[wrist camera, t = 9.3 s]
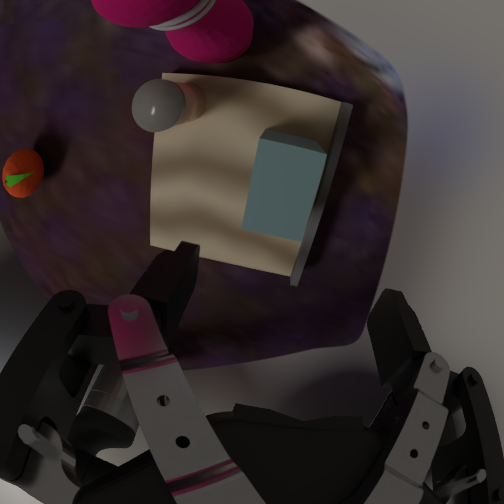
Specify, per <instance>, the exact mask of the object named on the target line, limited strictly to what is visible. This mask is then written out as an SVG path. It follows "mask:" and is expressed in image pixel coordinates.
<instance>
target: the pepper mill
mask: <svg viewBox="0 0 504 504" xmlns="http://www.w3.org/2000/svg"><path fill="white" fill-rule="evenodd" d="M91 1H92V5H93V6H94V8H95V9H96V11H97V12H98V13H99V14H100V15H101V16H102V17H104V18H105V19H107V20H108V21H110V22H112V23H115V24H117V25H120V26H125V27H139V28H143V27H151V28H153V29H156V30H164V31H165V32H166V36H167V38H168V40H169V42H170V44H171V45H172V47H173V48H174V49H175V50H176V51H177V52H178V53H180V54H181V55H183V56H184V57H186V58H188V59H191V60H193V61H197V62H212V63H224V62H229V61H231V60H234V59H236V58H238V57H240V56H241V55H242V54H243V53H245V51H246V50H247V49H248V48H249V46H250V44H251V41H252V38H253V27H254V21H253V15H252V13H251V10H250V9H249V8H248V6H247V5H246V4H245V2H244V1H243V0H91Z"/></svg>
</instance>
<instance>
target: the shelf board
mask: <svg viewBox="0 0 504 504" xmlns="http://www.w3.org/2000/svg"><path fill="white" fill-rule="evenodd" d="M162 79H165V80H170V81H173V82H180V83H188V84H193V85H196V86H198V87H199V88H200V89H201V90H202V91H203V92H204V94H205V97H206V106H205V109H204V111H203V113H202V115H201V116H200V117H199V118H197V119H196V120H194V121H191V122H187V123H184V124H180V125H176V126H173V127H171V128H169V129H167V130H164V131H160V132H155V136H154V147H153V161H152V178H151V208H150V244H151V245H152V246H156V247H160V248H165V249H169V250H173V251H175V250H176V248H177V247H178V245H179V244H180V242H181V241H186V242H190V243H194V244H199V245H200V254H199V257H204V258H208V259H213V260H217V261H222V262H226V263H231V264H235V265H240V266H244V267H249V268H253V269H258V270H263V271H267V272H272V273H277V274H281V275H286V276H290V285H294V286H297V285H298V282H299V279H300V277H301V274H302V271H303V268H304V265H305V263H306V260H307V257H308V254H309V251H310V248H311V245H312V242H313V240H314V237H315V234H316V231H317V228H318V225H319V221H320V218H321V215H322V212H323V209H324V206H325V203H326V200H327V196H328V193H329V190H330V187H331V183H332V180H333V177H334V173H335V170H336V167H337V163H338V160H339V156H340V153H341V149H342V145H343V142H344V138H345V135H346V131H347V127H348V123H349V119H350V115H351V112H352V108H353V105H352V104H349V103H346V102H339V101H336V100H332V99H329V98H326V97H322V96H319V95H315V94H311V93H307V92H303V91H299V90H295V89H291V88H286V87H281V86H277V85H271V84H266V83H261V82H255V81H249V80H242V79H235V78H227V77H218V76H208V75H195V74H176V73H163V74H162ZM265 129H269V130H274V131H278V132H283V133H287V134H291V135H296V136H300V137H304V138H307V139H311V140H315V141H316V142H317V143H318V144H319V145H320V146H321V148H322V149H323V150H324V151H325V153H326V154H327V157H326V160H325V161H326V162H325V165H324V169H323V172H322V176H321V179H320V183H319V186H318V190H317V193H316V197H315V200H314V203H313V207H312V210H311V213H310V216H309V220H308V223H307V226H306V229H305V232H304V234H303V238H302V241H301V242H298V241H294V240H290V239H285V238H281V237H276V236H272V235H267V234H263V233H258V232H254V231H249V230H244V229H241V228H242V223H243V218H244V212H245V207H246V202H247V197H248V192H249V187H250V182H251V177H252V172H253V167H254V162H255V157H256V152H257V147H258V142H259V138H260V136H261V135H262V133H263V132H264V130H265Z"/></svg>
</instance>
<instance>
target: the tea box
mask: <svg viewBox="0 0 504 504" xmlns="http://www.w3.org/2000/svg"><path fill="white" fill-rule="evenodd" d="M326 157H327V154H326V153H325V151H324V150H323V149H322V148H321V146H320V145H319V144H318V143H317V142H316V141H315V140H311V139H307V138H304V137H300V136H296V135H291V134H287V133H283V132H278V131H274V130H269V129H265V130H264V132H263V133H262V135H261V136H260V138H259V142H258V147H257V152H256V157H255V162H254V167H253V172H252V177H251V182H250V187H249V192H248V197H247V202H246V207H245V212H244V218H243V223H242V228H241V229H244V230H249V231H254V232H258V233H263V234H267V235H272V236H276V237H281V238H285V239H290V240H294V241H298V242H301V241H302V238H303V234H304V232H305V229H306V226H307V223H308V220H309V216H310V213H311V210H312V207H313V203H314V200H315V197H316V193H317V190H318V186H319V183H320V179H321V176H322V172H323V169H324V165H325V162H326V161H325V160H326Z"/></svg>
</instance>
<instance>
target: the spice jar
mask: <svg viewBox="0 0 504 504" xmlns="http://www.w3.org/2000/svg"><path fill="white" fill-rule="evenodd" d="M205 106H206V97H205V94H204V92H203V91H202V90H201V89H200V88H199V87H198V86H196V85H193V84H188V83H180V82H173V81H170V80H165V79H154V80H151V81H148V82H146V83H145V84H143V85H142V86H141V87H140V88H139V89H138V91H137V92H136V94H135V96H134V98H133V102H132V113H133V117H134V119H135V121H136V123H137V124H138V125H139V126H140V127H141V128H143V129H144V130H146V131H150V132H160V131H164V130H167V129H169V128H171V127H173V126H176V125H180V124H184V123H187V122H191V121H194V120H196V119H197V118H199V117H200V116H201V115H202V113H203V111H204V109H205Z"/></svg>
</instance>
